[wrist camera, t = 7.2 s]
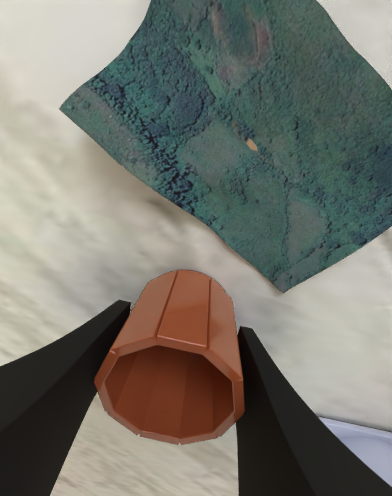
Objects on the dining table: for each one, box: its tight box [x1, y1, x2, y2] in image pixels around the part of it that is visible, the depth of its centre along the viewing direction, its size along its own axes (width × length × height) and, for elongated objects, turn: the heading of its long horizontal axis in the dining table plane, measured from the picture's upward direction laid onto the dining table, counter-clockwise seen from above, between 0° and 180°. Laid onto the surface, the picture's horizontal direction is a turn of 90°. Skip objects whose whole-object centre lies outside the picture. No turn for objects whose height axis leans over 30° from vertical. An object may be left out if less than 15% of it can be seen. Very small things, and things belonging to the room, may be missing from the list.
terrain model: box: [59, 0, 392, 293], centre depth 9 cm, size 13×8×2 cm, turn 49°
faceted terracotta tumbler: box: [94, 270, 245, 445], centre depth 10 cm, size 5×6×5 cm
